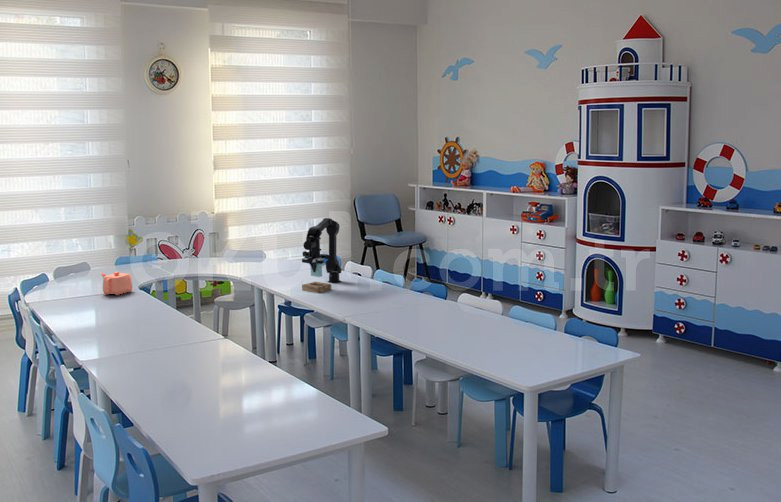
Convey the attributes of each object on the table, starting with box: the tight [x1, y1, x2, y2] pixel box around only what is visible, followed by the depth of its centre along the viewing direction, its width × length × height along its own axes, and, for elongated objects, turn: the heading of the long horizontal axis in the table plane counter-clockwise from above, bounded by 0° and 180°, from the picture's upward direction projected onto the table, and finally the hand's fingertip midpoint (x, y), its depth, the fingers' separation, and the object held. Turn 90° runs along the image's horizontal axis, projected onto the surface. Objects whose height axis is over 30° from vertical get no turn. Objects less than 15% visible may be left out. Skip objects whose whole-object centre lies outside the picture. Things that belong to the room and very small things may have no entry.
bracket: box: [309, 263, 324, 278], centre depth 483 cm, size 3×9×8 cm, turn 49°
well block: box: [301, 281, 332, 294], centre depth 486 cm, size 12×14×4 cm
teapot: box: [99, 271, 133, 296], centre depth 487 cm, size 20×19×14 cm
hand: (316, 271), depth 484 cm, fingers closed on bracket, 3 cm apart
